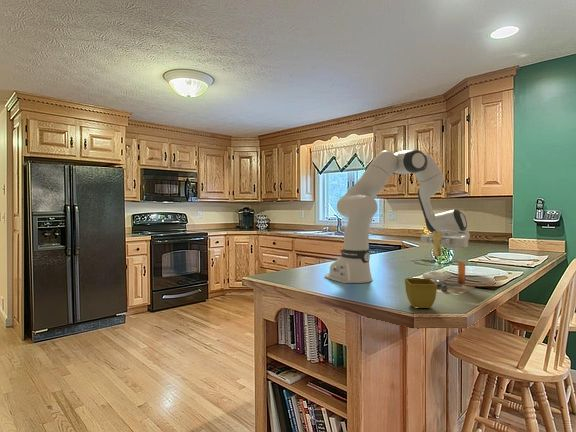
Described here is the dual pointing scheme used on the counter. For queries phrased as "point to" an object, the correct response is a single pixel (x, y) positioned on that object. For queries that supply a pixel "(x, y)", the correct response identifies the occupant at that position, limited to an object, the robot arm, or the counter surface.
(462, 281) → the crank
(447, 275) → the dish
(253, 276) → the counter surface
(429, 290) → the flower pot
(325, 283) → the counter surface
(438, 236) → the pin
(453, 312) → the counter surface
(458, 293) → the crank base
